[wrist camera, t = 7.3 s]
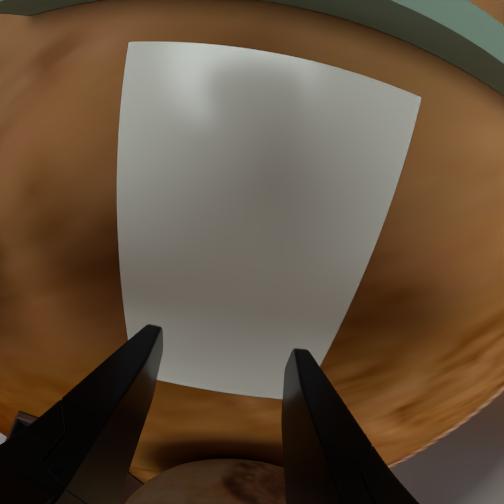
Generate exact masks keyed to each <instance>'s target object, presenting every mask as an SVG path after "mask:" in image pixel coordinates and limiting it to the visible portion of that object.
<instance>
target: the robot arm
mask: <svg viewBox="0 0 504 504" xmlns="http://www.w3.org/2000/svg"><path fill="white" fill-rule="evenodd" d="M162 353H163V329H162V327H160V326H157V325H152V324H147V325H146V326H144V327H143V328H142V329H141V330H140V331H139V332H137V333H136V334H135V335H134V336H133V337H132V338H130V339H129V340H128V341H127V342H126V343H125V344H124V345H122V346H121V347H120V348H119V349H118V350H117V351H115V352H114V353H113V354H112V355H111V356H110V357H109V358H107V359H106V360H105V361H104V362H103V363H102V364H100V365H99V366H98V367H97V368H96V369H95V370H94V371H92V372H91V373H90V374H89V375H88V376H87V377H86V378H84V379H83V380H82V381H81V382H80V383H79V384H78V385H76V386H75V387H74V388H73V389H72V390H71V391H70V392H68V393H67V394H66V395H65V396H64V397H63V398H62V400H59V401H58V402H57V403H56V404H55V405H54V406H52V407H51V408H50V409H49V410H48V411H47V412H45V413H44V414H43V415H42V416H40V417H39V418H38V419H37V420H35V421H34V422H33V423H31V424H30V425H29V426H27V427H26V428H24V429H23V430H22V431H20V432H19V433H17V434H16V435H14V436H13V437H11V438H10V439H8V440H7V441H5V442H4V443H2V444H1V445H0V504H119V501H120V497H121V494H122V491H123V487H124V484H125V481H126V478H127V475H128V471H129V468H130V465H131V462H132V459H133V456H134V453H135V450H136V447H137V444H138V441H139V438H140V435H141V432H142V429H143V426H144V423H145V420H146V417H147V414H148V411H149V408H150V405H151V402H152V398H153V394H154V390H155V385H156V380H157V376H158V371H159V367H160V362H161V358H162ZM281 423H282V442H283V460H284V478H285V498H286V504H419V503H418V502H417V501H416V499H415V498H414V497H413V496H412V495H411V494H410V493H409V492H408V491H407V489H406V488H405V487H404V486H403V485H402V484H401V483H400V482H399V480H398V479H397V478H396V477H395V475H394V474H393V473H392V472H391V471H390V469H389V468H388V466H387V465H386V464H385V462H384V461H383V460H382V458H381V457H380V455H379V454H378V452H377V451H376V449H375V448H374V447H373V446H372V444H371V442H370V441H369V439H368V438H367V436H366V435H365V433H364V432H363V430H362V429H361V427H360V426H359V425H358V423H357V422H356V420H355V419H354V417H353V416H352V414H351V413H350V411H349V410H348V408H347V407H346V405H345V404H344V402H343V401H342V399H341V398H340V396H339V395H338V393H337V392H336V390H335V389H334V387H333V386H332V384H331V383H330V381H329V380H328V378H327V377H326V375H325V374H324V372H323V371H322V369H321V368H320V366H319V365H318V363H317V362H316V360H315V359H314V357H313V356H312V354H311V353H310V352H309V350H307V349H300V348H294V349H293V350H292V352H291V354H290V357H289V359H288V361H287V364H286V367H285V371H284V386H283V401H282V418H281Z"/></svg>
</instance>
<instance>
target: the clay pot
mask: <svg viewBox="0 0 504 504" xmlns="http://www.w3.org/2000/svg"><path fill="white" fill-rule="evenodd" d="M124 504H286V498H285V478H284V468H283V467H280V466H276V465H273V464H269V463H264V462H259V461H252V460H241V459H208V460H200V461H194V462H189V463H185V464H181V465H178V466H175V467H173V468H170V469H168V470H166V471H164V472H162V473H160V474H158V475H157V476H155V477H153V478H152V479H150V480H149V481H148V482H146V483H145V484H144V485H143V486H141V487H140V488H139V489H138V490H136V491H135V492H134V493H133V494H132V495H131V496H130V497H129V498H128V500H127V501H126V502H125V503H124Z"/></svg>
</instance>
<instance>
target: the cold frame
mask: <svg viewBox="0 0 504 504" xmlns="http://www.w3.org/2000/svg"><path fill="white" fill-rule="evenodd" d="M92 1H99V0H0V14H13V15H23V16H31V15H35V14H38V13H42V12H45V11H49V10H53V9H57V8H62V7H66V6H71V5H76V4H81V3H86V2H92ZM261 1H268V2H274V3H279V4H285V5H290V6H295V7H300V8H304V9H309V10H313V11H317V12H321V13H325V14H329V15H332V16H336V17H339V18H343V19H346V20H349V21H352V22H355V23H359V24H362V25H365V26H367V27H370V28H373V29H376V30H379V31H381V32H384V33H386V34H389V35H392V36H394V37H396V38H399V39H401V40H404V41H406V42H408V43H411V44H413V45H415V46H417V47H419V48H422V49H424V50H426V51H428V52H430V53H432V54H434V55H436V56H438V57H440V58H442V59H444V60H446V61H448V62H449V63H451V64H453V65H455V66H457V67H459V68H460V69H462V70H464V71H465V72H467V73H469V74H471V75H472V76H474V77H476V78H477V79H479V80H480V81H482V82H484V83H485V84H487V85H488V86H490V87H491V88H493V89H494V90H496V91H497V92H499V93H500V94H502V95H503V96H504V26H503V25H502V24H501V23H500V22H498V21H497V20H496V19H494V18H493V17H491V16H490V15H489V14H487V13H486V12H484V11H483V10H481V9H480V8H479V7H477V6H476V5H474V4H473V3H471V2H469V1H468V0H261Z"/></svg>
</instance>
